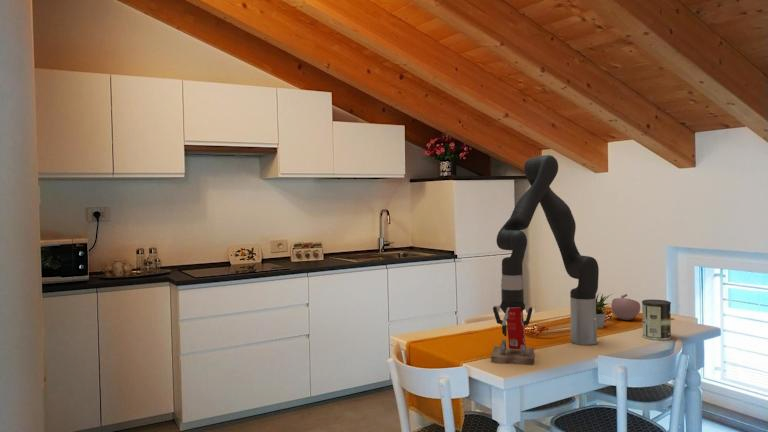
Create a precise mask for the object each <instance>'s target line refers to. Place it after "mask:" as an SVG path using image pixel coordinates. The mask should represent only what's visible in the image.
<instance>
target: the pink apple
mask: <svg viewBox="0 0 768 432" xmlns="http://www.w3.org/2000/svg"><path fill="white" fill-rule="evenodd" d="M625 297H626V298H625ZM627 297H628V294H627V293H625V294H623V295H621V296H620V297H616V298H613V299H612V300H611V303H610V307H611V312H612V313H613V314H614V316H616V318H619V320H624V321H630V320H633V319H635V318H636V317H638V315H639V314H640V313H641V312H640V311H641V303H640V302H639V301H637V300H634V299H631V298H627Z"/></svg>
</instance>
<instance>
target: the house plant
mask: <svg viewBox="0 0 768 432" xmlns="http://www.w3.org/2000/svg"><path fill="white" fill-rule="evenodd" d="M600 294H601V292H597V293H596V319H597V329H604V326H605V321H606V314H607V313H606V312H605V310H606V308H608V307H609V305H608V303H604V302H605V301H606V300H607V299H608V298H609V297H610V296H611V295H613V293H610V294H609V295H605V296H604V293H602V294H601V296H600V299H599V295H600ZM598 300H599V301H598Z"/></svg>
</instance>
